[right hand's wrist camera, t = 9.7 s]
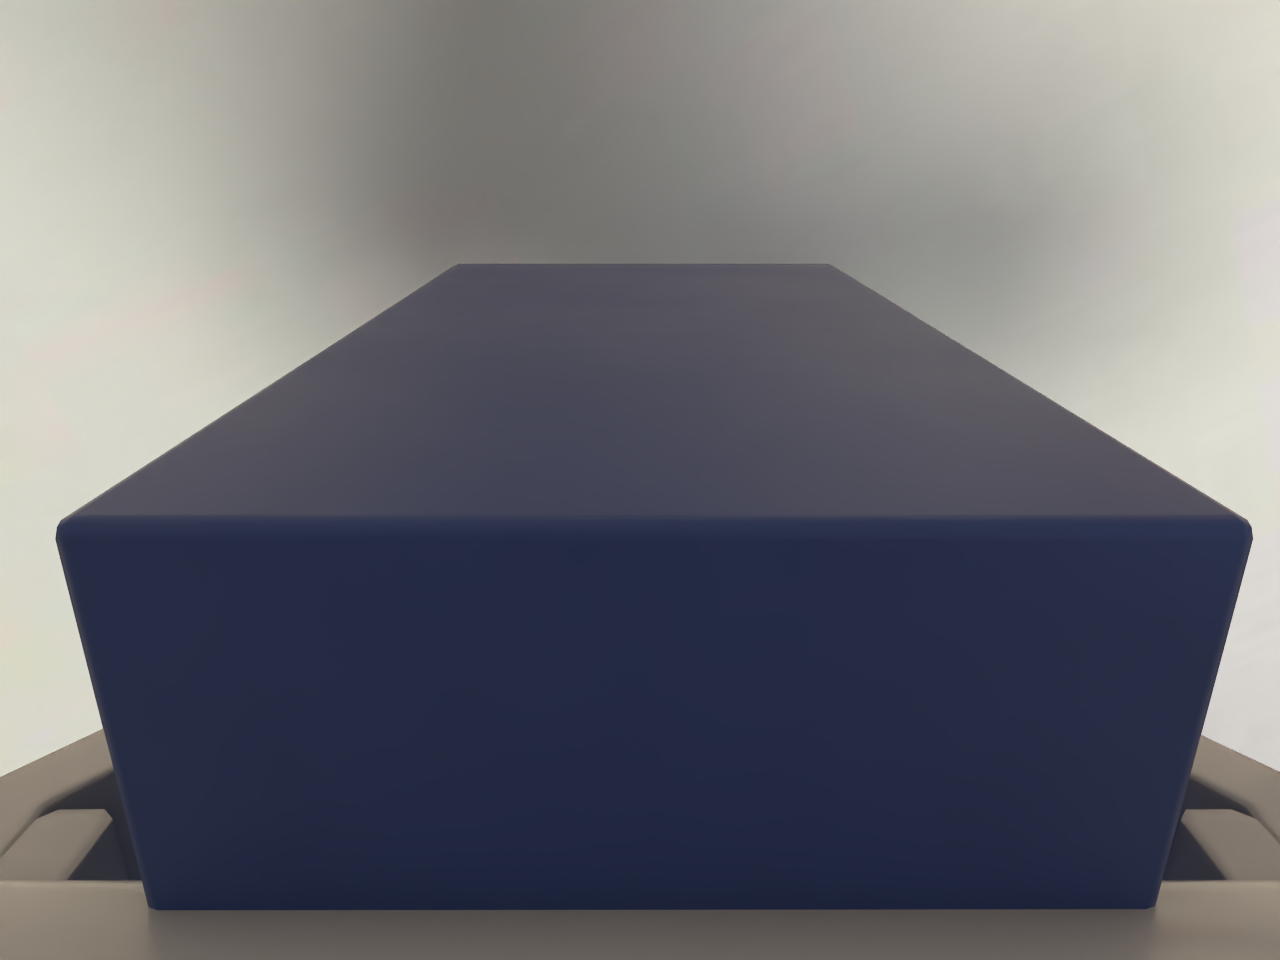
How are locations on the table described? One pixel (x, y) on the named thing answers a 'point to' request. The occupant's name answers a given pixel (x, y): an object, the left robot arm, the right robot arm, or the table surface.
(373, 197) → the table surface
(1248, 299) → the table surface
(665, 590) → the bar
